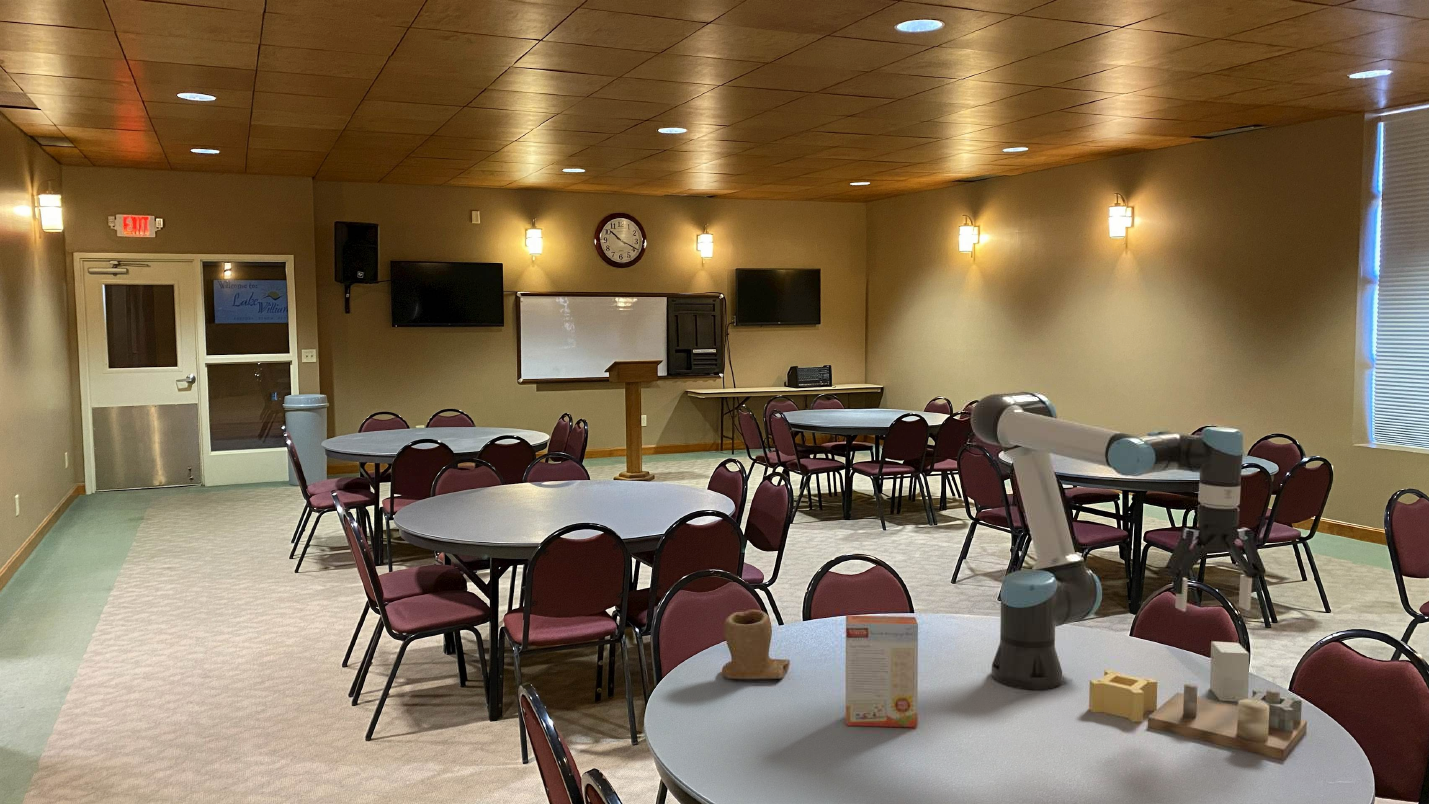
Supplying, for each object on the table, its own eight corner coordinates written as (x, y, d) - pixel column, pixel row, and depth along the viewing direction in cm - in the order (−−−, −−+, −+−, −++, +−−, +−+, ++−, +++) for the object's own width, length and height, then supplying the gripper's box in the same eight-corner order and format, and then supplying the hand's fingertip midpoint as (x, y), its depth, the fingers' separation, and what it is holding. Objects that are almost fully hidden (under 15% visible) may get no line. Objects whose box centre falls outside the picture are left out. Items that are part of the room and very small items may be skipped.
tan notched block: (1086, 710, 214) (1087, 681, 214) (1106, 696, 222) (1106, 668, 222) (1140, 723, 207) (1141, 694, 207) (1158, 708, 215) (1159, 680, 215)
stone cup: (719, 686, 229) (719, 618, 228) (724, 668, 241) (723, 604, 240) (788, 688, 227) (789, 620, 226) (790, 670, 239) (790, 605, 238)
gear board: (1147, 726, 206) (1148, 686, 205) (1177, 701, 219) (1178, 664, 219) (1283, 760, 190) (1285, 717, 189) (1306, 730, 203) (1308, 690, 203)
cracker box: (915, 717, 211) (916, 615, 209) (917, 729, 205) (919, 624, 203) (844, 714, 212) (845, 613, 210) (845, 726, 206) (846, 621, 204)
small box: (1248, 703, 218) (1250, 653, 218) (1219, 701, 220) (1221, 651, 219) (1237, 689, 226) (1238, 642, 225) (1209, 688, 227) (1210, 640, 227)
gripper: (1169, 509, 205) (1163, 615, 207) (1289, 508, 207) (1282, 613, 209) (1149, 501, 212) (1144, 604, 214) (1265, 501, 215) (1259, 602, 217)
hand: (1212, 608), depth 212 cm, fingers open, 13 cm apart
